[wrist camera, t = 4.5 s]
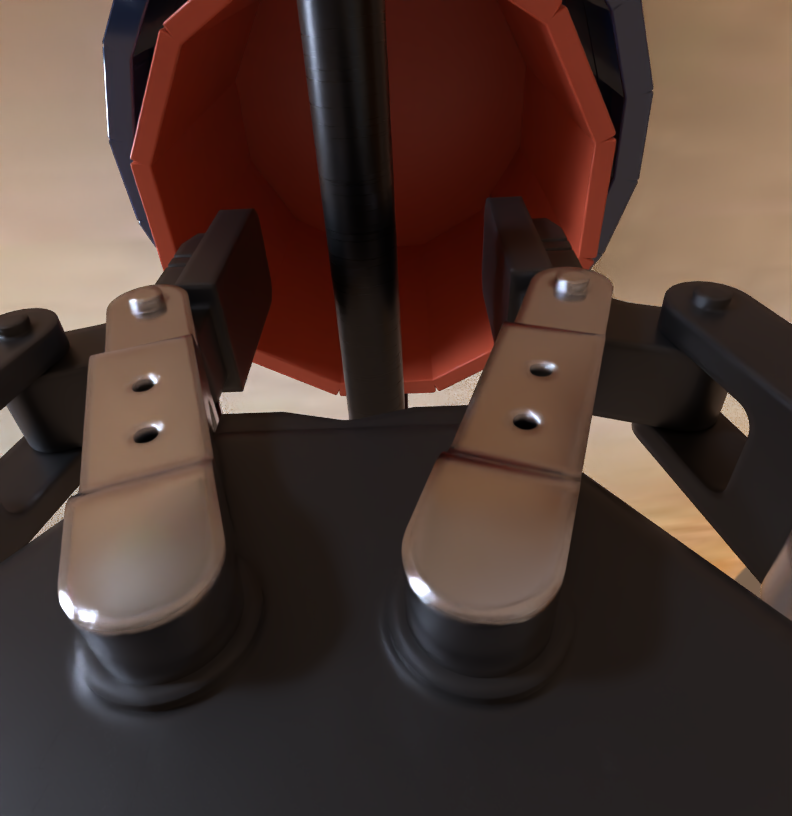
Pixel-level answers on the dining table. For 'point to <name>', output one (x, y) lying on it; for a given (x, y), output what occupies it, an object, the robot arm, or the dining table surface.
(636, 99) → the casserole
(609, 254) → the dining table surface
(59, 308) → the dining table surface
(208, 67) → the red bucket
